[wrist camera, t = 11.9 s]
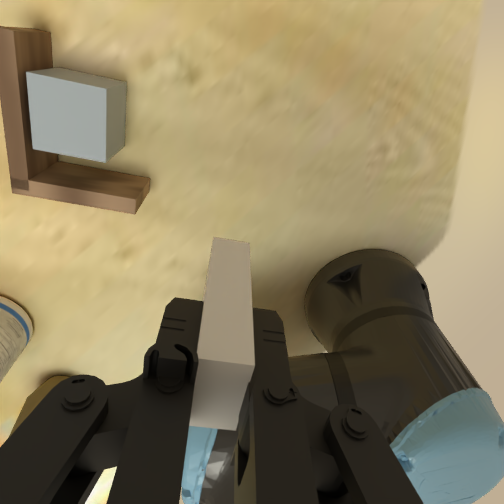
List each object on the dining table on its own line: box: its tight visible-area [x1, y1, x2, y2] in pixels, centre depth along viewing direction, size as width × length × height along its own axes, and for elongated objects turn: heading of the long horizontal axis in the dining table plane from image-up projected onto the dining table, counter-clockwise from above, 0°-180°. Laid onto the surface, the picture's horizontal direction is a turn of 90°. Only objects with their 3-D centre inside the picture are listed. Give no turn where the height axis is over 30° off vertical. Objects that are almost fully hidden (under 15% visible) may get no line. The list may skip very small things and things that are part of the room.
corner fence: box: [0, 26, 150, 214], centre depth 33 cm, size 11×13×6 cm
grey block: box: [26, 67, 127, 163], centre depth 32 cm, size 6×6×6 cm
